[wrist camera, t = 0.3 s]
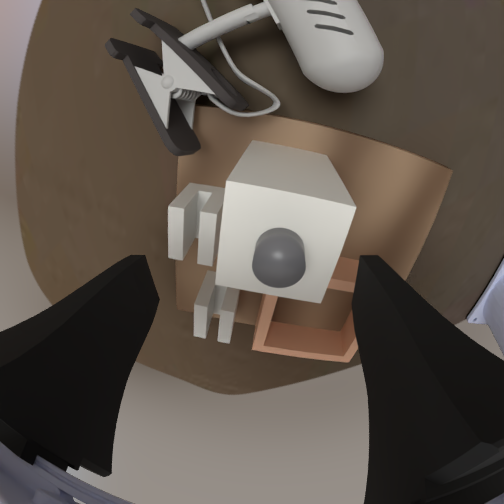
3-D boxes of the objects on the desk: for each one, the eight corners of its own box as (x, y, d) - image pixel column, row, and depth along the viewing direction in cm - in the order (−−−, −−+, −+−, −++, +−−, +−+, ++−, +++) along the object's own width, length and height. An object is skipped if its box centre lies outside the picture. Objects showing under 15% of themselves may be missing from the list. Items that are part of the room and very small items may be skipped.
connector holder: (383, 265, 17) (393, 289, 15) (345, 338, 21) (348, 362, 19) (274, 243, 17) (272, 267, 15) (255, 324, 21) (252, 349, 19)
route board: (445, 166, 14) (452, 170, 13) (367, 332, 22) (369, 341, 21) (188, 103, 14) (182, 104, 13) (180, 300, 22) (176, 309, 21)
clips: (256, 193, 16) (249, 220, 13) (237, 308, 21) (229, 343, 18) (189, 182, 16) (168, 206, 13) (186, 297, 21) (172, 330, 18)
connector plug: (326, 155, 14) (364, 221, 7) (309, 220, 16) (322, 322, 9) (252, 139, 14) (218, 192, 7) (241, 207, 16) (208, 302, 9)
